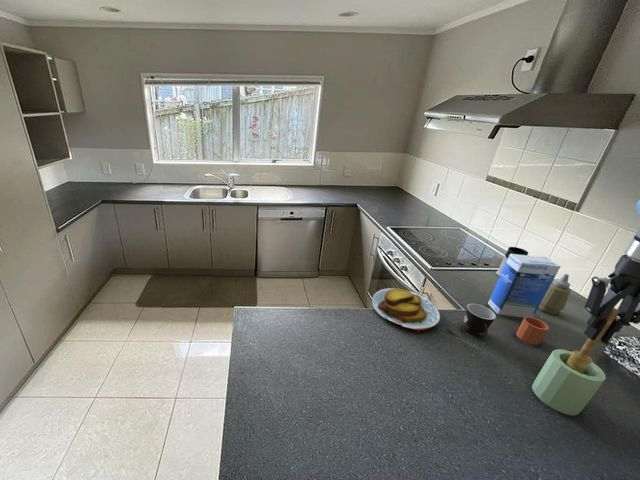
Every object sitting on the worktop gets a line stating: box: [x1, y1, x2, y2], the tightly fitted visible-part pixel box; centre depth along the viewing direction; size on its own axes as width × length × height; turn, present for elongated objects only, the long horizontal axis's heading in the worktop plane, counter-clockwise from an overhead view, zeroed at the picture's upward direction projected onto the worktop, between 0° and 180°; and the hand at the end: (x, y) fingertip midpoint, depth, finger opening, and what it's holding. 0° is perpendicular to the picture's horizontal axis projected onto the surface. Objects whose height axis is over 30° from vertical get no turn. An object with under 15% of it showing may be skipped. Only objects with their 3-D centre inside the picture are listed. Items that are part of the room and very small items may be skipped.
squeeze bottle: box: [538, 273, 571, 315], centre depth 117 cm, size 8×8×18 cm
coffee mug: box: [461, 303, 497, 338], centre depth 104 cm, size 12×9×10 cm
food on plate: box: [371, 287, 441, 333], centre depth 115 cm, size 25×25×7 cm
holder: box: [495, 246, 529, 277], centre depth 139 cm, size 9×14×15 cm, turn 167°
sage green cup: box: [531, 348, 607, 416], centre depth 80 cm, size 10×10×14 cm
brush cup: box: [515, 316, 550, 346], centre depth 103 cm, size 7×7×8 cm
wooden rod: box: [566, 307, 620, 374], centre depth 74 cm, size 4×4×21 cm
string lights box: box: [487, 254, 561, 319], centre depth 113 cm, size 13×8×26 cm, turn 80°
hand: (595, 337), depth 74 cm, fingers closed on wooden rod, 2 cm apart
